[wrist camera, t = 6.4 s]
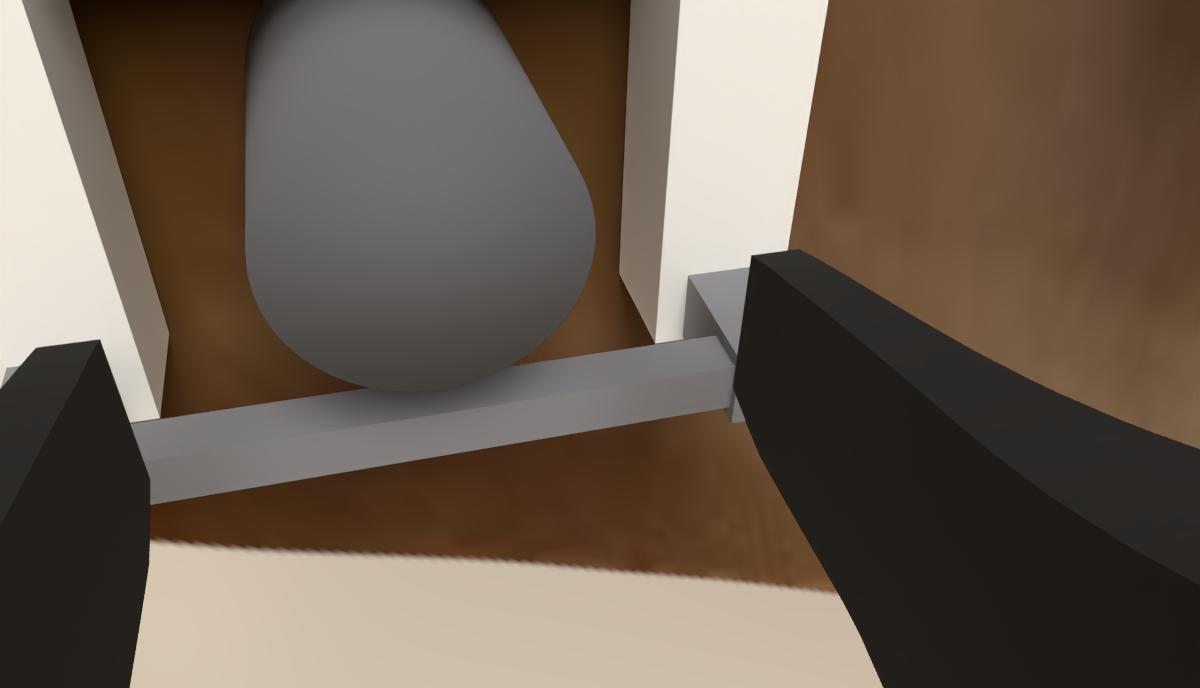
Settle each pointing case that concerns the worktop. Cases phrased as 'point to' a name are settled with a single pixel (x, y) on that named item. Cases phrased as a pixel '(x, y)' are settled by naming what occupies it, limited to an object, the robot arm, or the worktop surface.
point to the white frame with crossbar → (470, 411)
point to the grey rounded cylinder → (405, 192)
